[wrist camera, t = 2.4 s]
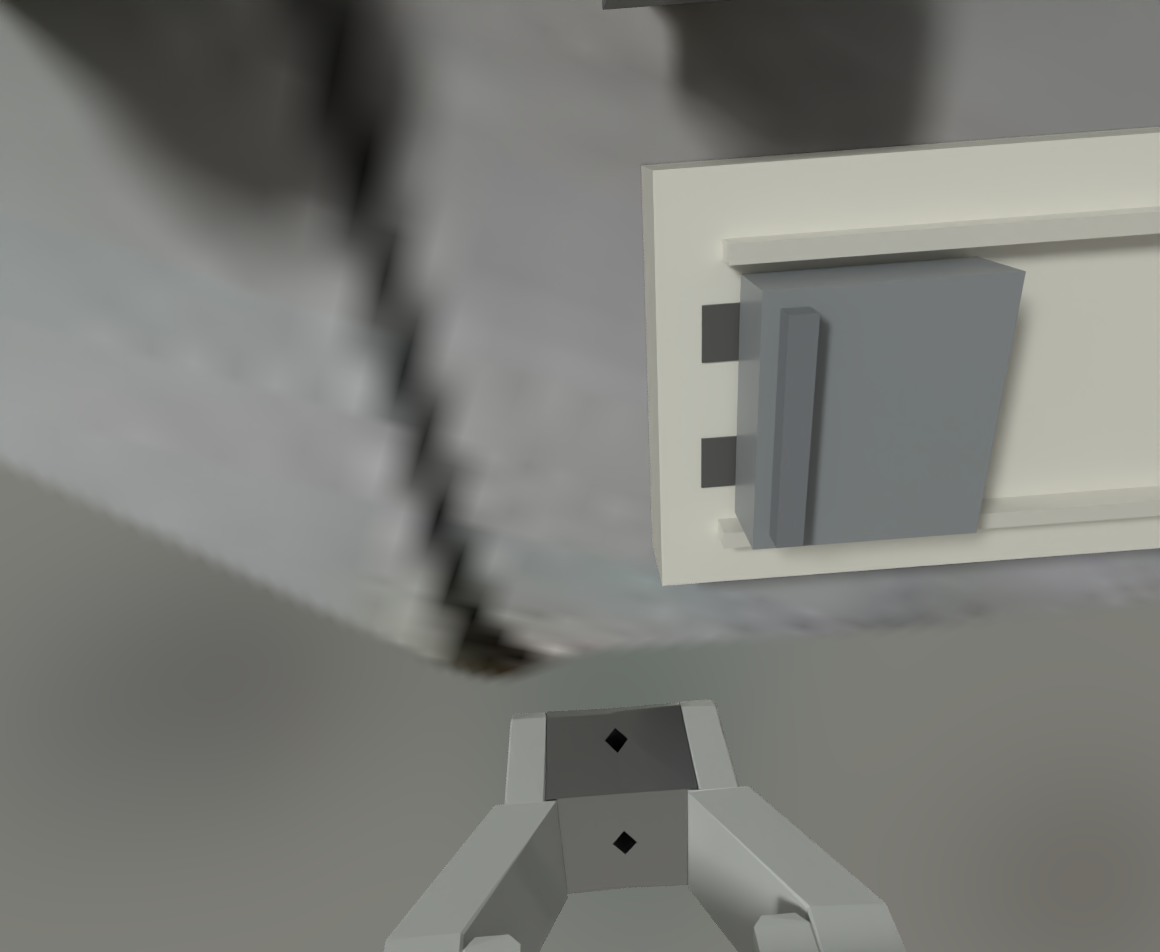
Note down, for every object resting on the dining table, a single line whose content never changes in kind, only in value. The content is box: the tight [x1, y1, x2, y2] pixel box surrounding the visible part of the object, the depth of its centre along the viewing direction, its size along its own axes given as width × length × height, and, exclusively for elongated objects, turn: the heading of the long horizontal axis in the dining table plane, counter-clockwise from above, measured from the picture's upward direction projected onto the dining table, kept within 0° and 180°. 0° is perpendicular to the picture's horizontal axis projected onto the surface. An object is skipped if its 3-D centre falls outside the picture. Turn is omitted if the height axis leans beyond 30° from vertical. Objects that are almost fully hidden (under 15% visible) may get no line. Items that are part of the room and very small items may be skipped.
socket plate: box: [641, 127, 1160, 586], centre depth 25 cm, size 20×14×4 cm
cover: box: [735, 256, 1026, 550], centre depth 22 cm, size 7×8×3 cm
